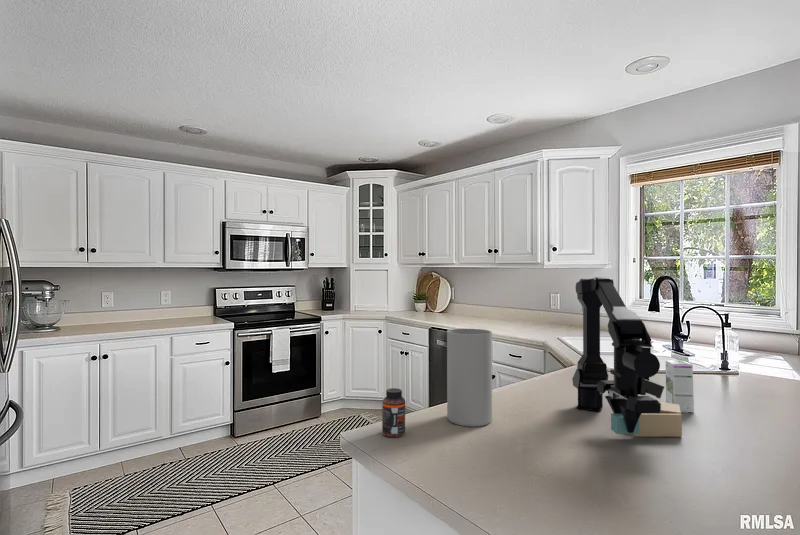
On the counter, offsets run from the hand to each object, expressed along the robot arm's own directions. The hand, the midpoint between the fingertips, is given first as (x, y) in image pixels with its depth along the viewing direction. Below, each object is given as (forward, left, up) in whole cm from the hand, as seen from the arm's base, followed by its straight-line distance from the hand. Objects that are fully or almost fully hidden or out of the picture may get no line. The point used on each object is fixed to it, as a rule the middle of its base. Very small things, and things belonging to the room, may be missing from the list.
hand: (626, 429), depth 108 cm
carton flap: (+5, +3, -2) cm, 6 cm away
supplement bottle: (-52, -26, -3) cm, 58 cm away
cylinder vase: (-39, -6, -3) cm, 40 cm away
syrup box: (+13, +35, -3) cm, 37 cm away
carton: (+6, +13, -2) cm, 14 cm away
